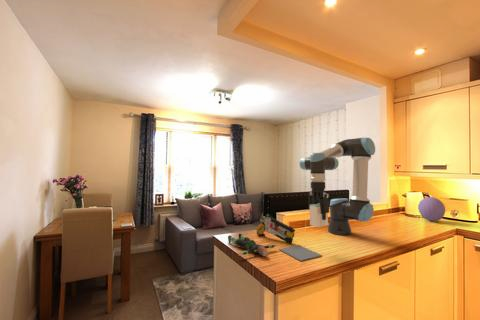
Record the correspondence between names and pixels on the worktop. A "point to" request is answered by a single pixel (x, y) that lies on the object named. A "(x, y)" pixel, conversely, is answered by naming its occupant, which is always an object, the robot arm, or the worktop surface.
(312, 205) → the cream rectangular block
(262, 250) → the figurine
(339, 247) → the worktop surface
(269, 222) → the toy gun
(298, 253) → the mat
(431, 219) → the ball
